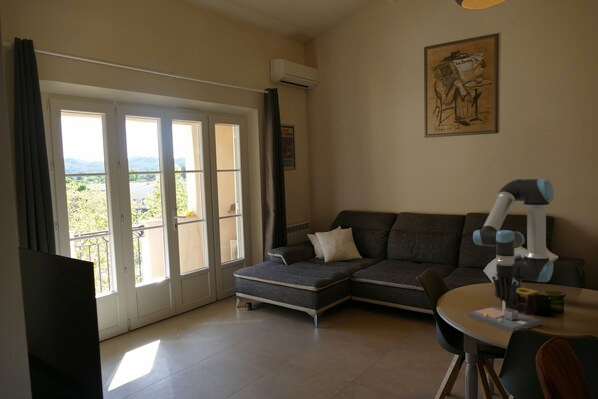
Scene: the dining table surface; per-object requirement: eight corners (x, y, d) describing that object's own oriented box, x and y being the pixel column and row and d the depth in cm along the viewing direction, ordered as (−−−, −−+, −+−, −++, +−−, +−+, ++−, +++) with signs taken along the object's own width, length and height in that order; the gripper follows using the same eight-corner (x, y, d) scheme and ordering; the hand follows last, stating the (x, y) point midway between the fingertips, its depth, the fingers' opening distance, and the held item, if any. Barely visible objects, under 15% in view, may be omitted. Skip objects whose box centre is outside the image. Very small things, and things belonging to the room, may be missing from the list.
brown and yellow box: (527, 315, 205) (527, 294, 204) (508, 309, 214) (508, 290, 213) (540, 311, 209) (540, 291, 209) (521, 306, 218) (521, 286, 218)
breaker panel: (468, 316, 205) (468, 310, 205) (494, 310, 213) (494, 303, 213) (512, 332, 184) (512, 325, 184) (539, 324, 192) (539, 317, 191)
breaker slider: (504, 317, 196) (504, 309, 195) (510, 315, 197) (509, 308, 197) (511, 319, 192) (511, 312, 192) (517, 318, 194) (517, 310, 193)
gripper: (487, 262, 200) (488, 311, 201) (512, 267, 188) (512, 319, 189) (498, 260, 203) (499, 309, 204) (523, 265, 191) (523, 316, 193)
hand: (505, 314), depth 197 cm, fingers closed
